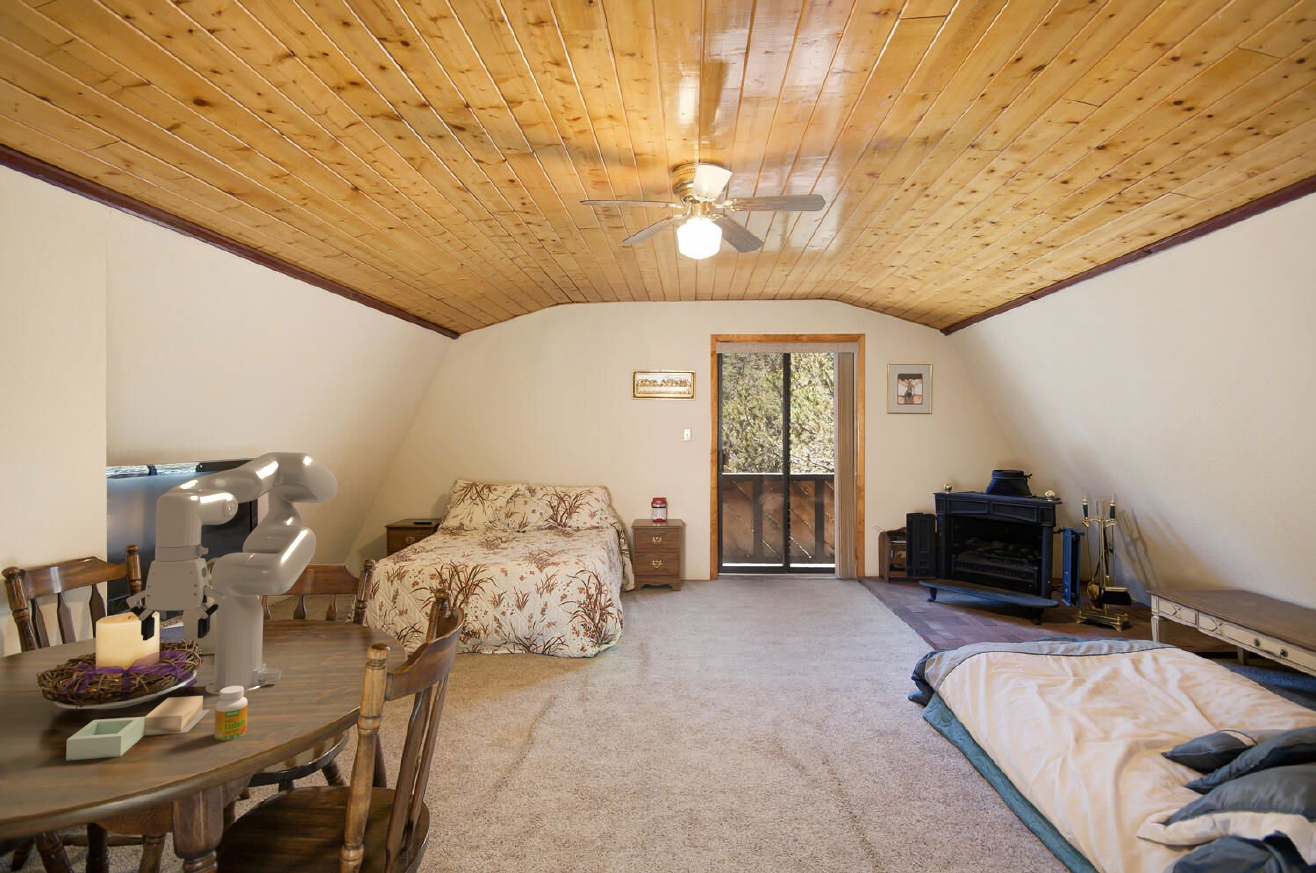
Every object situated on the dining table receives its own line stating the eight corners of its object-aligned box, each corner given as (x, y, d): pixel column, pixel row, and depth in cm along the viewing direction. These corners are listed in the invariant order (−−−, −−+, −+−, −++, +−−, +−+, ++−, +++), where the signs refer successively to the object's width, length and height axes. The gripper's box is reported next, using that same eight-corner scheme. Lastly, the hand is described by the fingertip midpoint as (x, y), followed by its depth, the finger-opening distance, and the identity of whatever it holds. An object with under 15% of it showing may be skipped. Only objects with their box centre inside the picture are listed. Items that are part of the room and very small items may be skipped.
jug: (210, 660, 175) (213, 564, 174) (167, 652, 179) (170, 559, 179) (261, 643, 189) (263, 555, 189) (220, 636, 194) (222, 550, 194)
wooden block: (202, 710, 142) (202, 695, 142) (181, 731, 132) (181, 715, 132) (167, 713, 140) (167, 697, 140) (143, 734, 131) (143, 717, 131)
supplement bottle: (222, 747, 128) (224, 696, 128) (208, 739, 131) (210, 690, 131) (252, 737, 133) (253, 688, 133) (238, 729, 135) (239, 682, 135)
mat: (210, 713, 143) (210, 709, 143) (187, 736, 132) (187, 732, 132) (161, 716, 141) (161, 712, 141) (134, 739, 130) (134, 735, 130)
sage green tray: (143, 739, 130) (144, 716, 130) (120, 760, 122) (121, 735, 122) (93, 743, 128) (93, 720, 128) (66, 764, 120) (66, 739, 120)
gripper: (232, 550, 142) (230, 630, 142) (138, 551, 138) (136, 634, 138) (218, 556, 135) (216, 641, 135) (118, 557, 131) (116, 645, 131)
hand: (175, 637), depth 136 cm, fingers open, 9 cm apart
